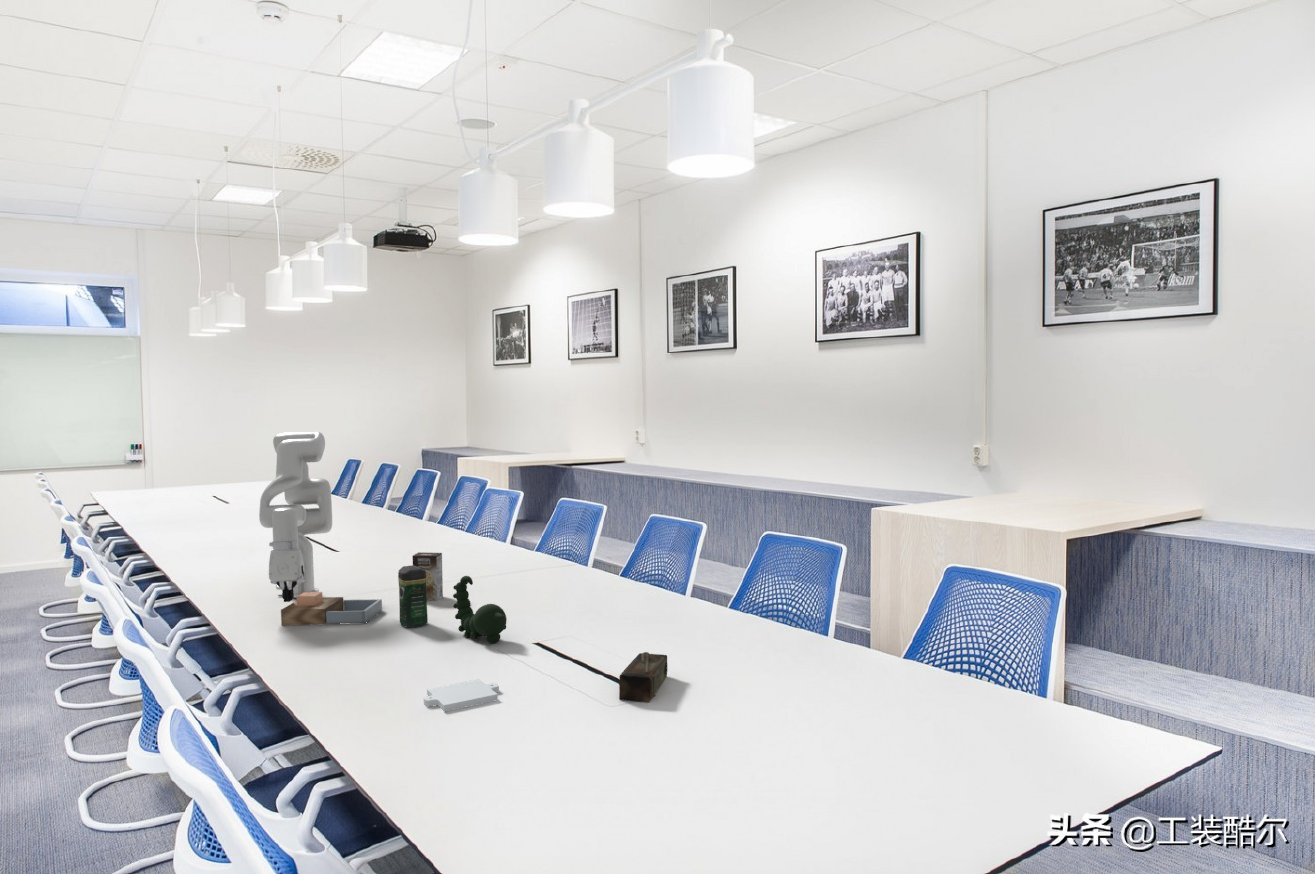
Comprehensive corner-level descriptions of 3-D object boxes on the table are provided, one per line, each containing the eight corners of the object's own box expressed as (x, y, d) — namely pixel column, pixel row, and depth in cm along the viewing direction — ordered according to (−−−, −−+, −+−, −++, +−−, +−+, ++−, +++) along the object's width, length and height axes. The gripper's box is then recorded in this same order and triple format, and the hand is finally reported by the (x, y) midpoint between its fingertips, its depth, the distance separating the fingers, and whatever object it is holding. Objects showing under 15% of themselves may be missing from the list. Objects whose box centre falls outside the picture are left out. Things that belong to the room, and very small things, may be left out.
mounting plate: (488, 684, 216) (488, 677, 216) (507, 699, 205) (507, 691, 205) (416, 698, 206) (416, 691, 206) (432, 715, 195) (432, 707, 195)
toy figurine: (448, 639, 261) (492, 649, 242) (443, 577, 261) (486, 581, 243) (475, 633, 267) (520, 642, 249) (470, 572, 267) (515, 576, 249)
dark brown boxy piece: (669, 677, 218) (668, 651, 218) (651, 704, 199) (650, 676, 199) (638, 675, 220) (638, 649, 220) (618, 702, 201) (617, 674, 201)
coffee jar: (431, 625, 271) (429, 567, 270) (406, 629, 267) (403, 570, 266) (421, 619, 279) (419, 562, 278) (397, 623, 275) (394, 565, 274)
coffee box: (412, 600, 305) (410, 555, 304) (419, 596, 311) (417, 552, 311) (437, 600, 304) (436, 555, 303) (444, 596, 310) (442, 552, 310)
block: (296, 605, 280) (296, 596, 280) (304, 601, 286) (304, 592, 286) (315, 605, 280) (314, 596, 280) (322, 600, 286) (322, 591, 286)
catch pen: (325, 624, 275) (324, 611, 275) (343, 611, 291) (343, 599, 291) (365, 623, 275) (365, 611, 275) (382, 610, 291) (381, 599, 291)
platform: (281, 625, 275) (280, 609, 275) (302, 612, 291) (301, 597, 291) (325, 624, 275) (324, 608, 275) (343, 611, 291) (343, 596, 291)
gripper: (257, 548, 278) (260, 604, 279) (303, 547, 278) (306, 603, 279) (268, 543, 286) (271, 598, 287) (313, 543, 285) (315, 597, 286)
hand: (288, 600), depth 283 cm, fingers closed
